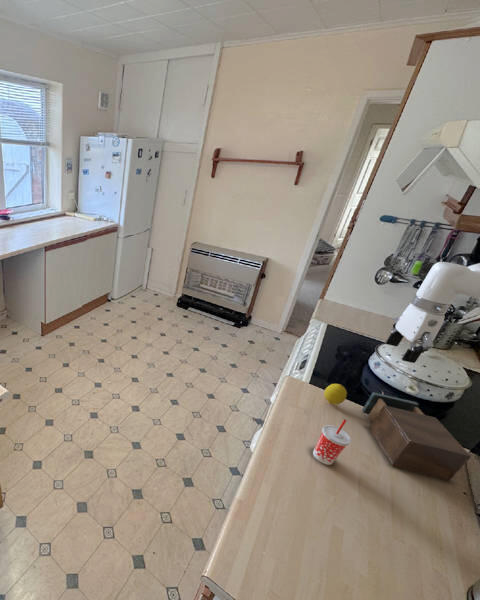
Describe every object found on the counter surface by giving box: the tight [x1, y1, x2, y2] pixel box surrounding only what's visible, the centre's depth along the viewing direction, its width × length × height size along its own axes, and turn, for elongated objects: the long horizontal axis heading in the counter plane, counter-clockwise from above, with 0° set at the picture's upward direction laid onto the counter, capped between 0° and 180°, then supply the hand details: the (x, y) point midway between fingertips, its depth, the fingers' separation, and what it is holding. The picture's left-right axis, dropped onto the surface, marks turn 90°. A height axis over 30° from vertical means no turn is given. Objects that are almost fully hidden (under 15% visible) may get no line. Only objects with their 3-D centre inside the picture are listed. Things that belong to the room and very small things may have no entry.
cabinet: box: [368, 405, 472, 482], centre depth 89 cm, size 14×13×10 cm
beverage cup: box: [312, 419, 352, 466], centre depth 85 cm, size 6×6×14 cm
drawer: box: [361, 391, 425, 423], centre depth 97 cm, size 17×11×8 cm
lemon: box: [323, 383, 348, 405], centre depth 106 cm, size 6×6×8 cm
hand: (399, 352), depth 101 cm, fingers open, 9 cm apart
